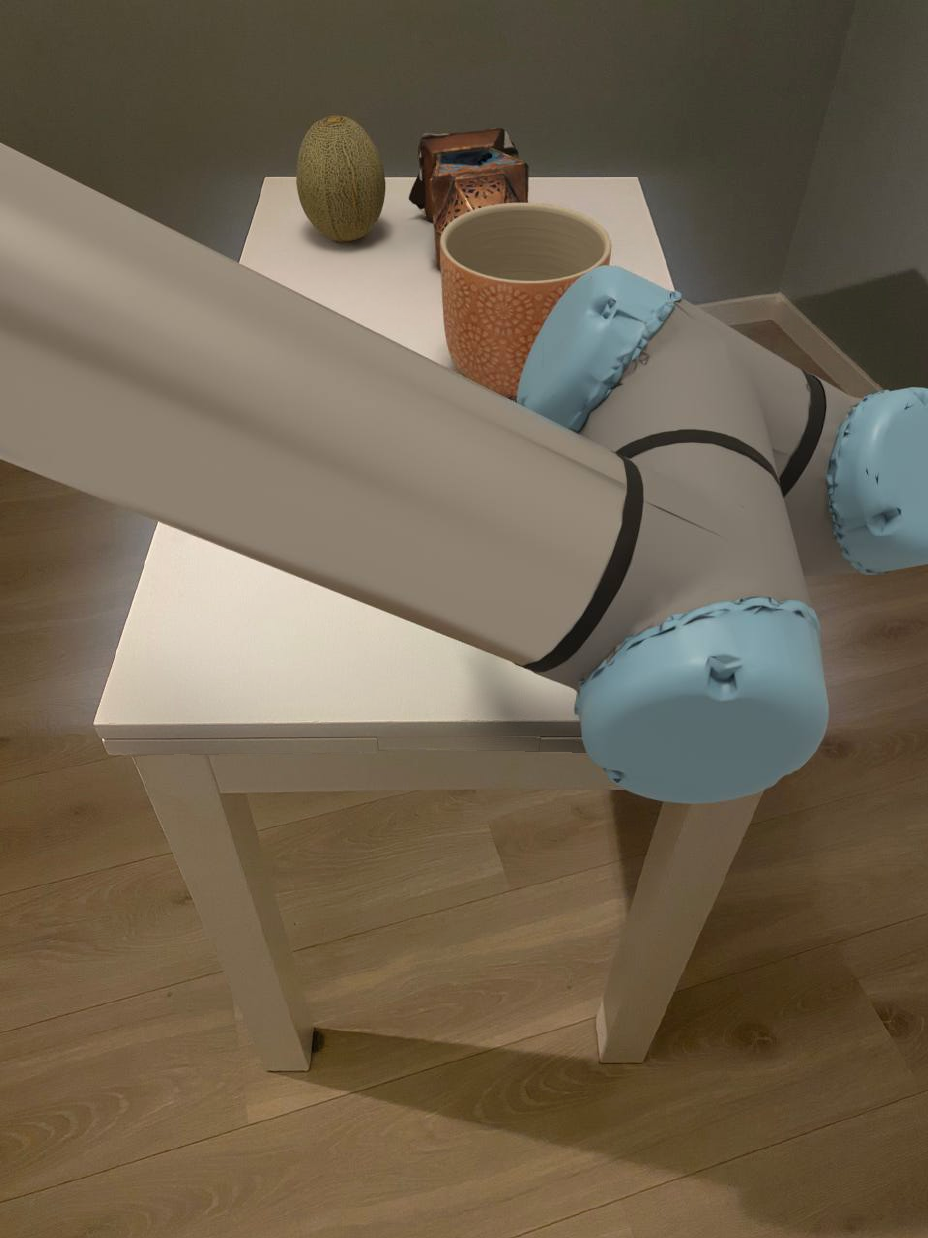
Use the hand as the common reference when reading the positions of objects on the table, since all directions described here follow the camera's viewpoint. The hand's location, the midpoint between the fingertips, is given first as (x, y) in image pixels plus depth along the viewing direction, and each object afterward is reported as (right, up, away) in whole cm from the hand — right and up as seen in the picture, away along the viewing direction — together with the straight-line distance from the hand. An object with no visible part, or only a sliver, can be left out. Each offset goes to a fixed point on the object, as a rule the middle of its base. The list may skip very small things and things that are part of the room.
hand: (552, 548), depth 72 cm
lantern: (-6, +42, +50) cm, 66 cm away
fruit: (-23, +46, +53) cm, 74 cm away
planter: (-1, +22, +32) cm, 39 cm away
